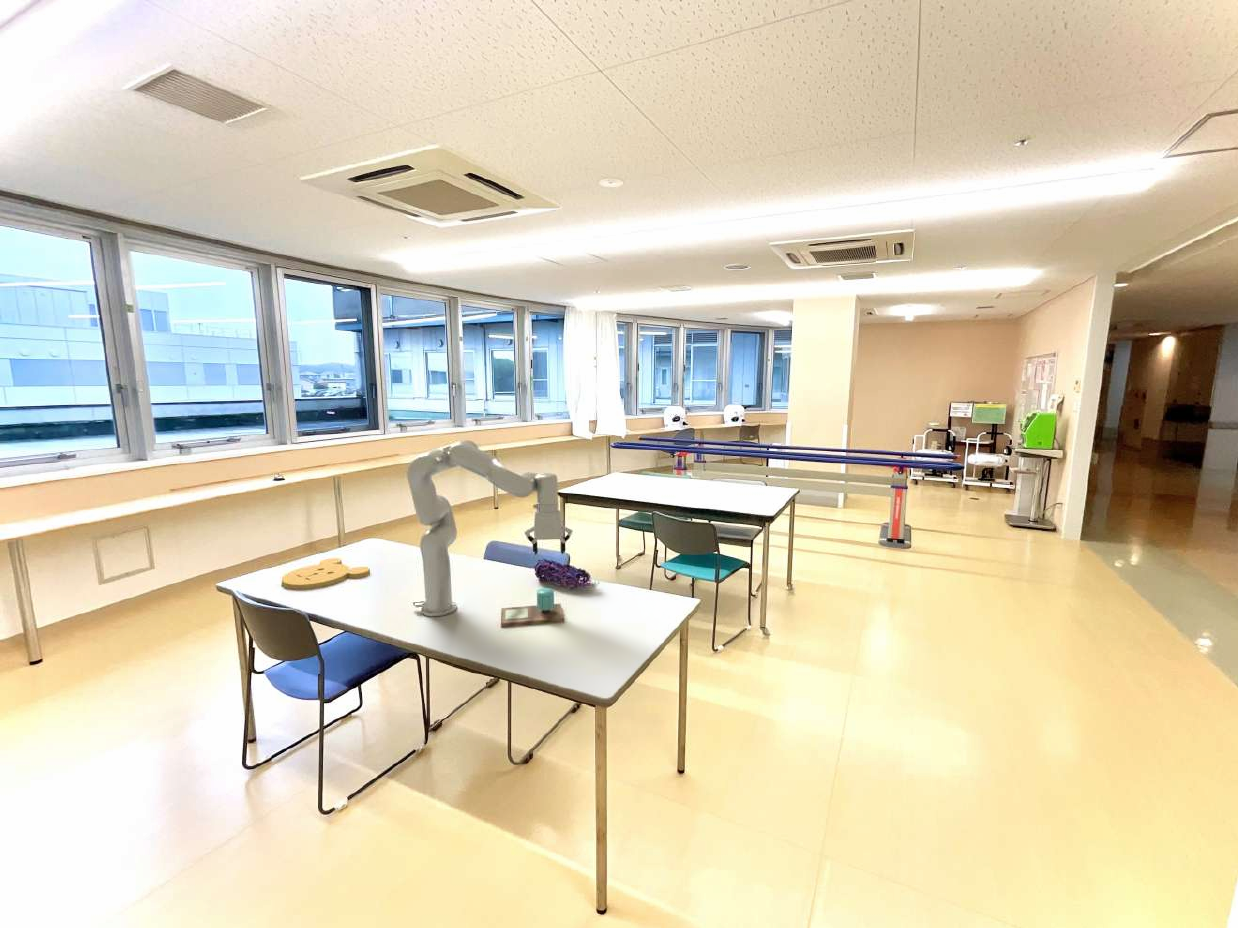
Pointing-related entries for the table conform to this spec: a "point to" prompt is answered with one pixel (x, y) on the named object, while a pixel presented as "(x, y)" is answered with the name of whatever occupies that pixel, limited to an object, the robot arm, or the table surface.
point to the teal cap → (545, 599)
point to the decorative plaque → (322, 575)
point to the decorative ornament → (562, 574)
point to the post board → (530, 616)
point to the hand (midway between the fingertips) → (549, 553)
